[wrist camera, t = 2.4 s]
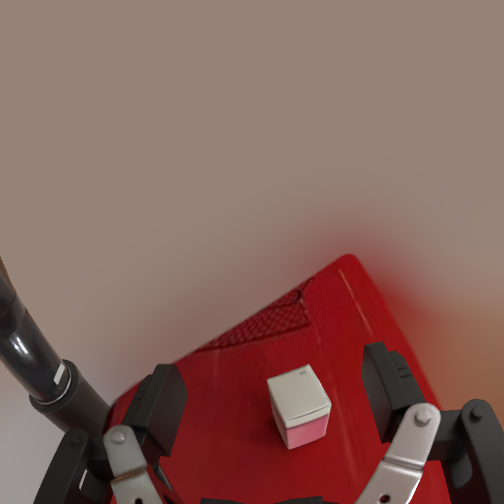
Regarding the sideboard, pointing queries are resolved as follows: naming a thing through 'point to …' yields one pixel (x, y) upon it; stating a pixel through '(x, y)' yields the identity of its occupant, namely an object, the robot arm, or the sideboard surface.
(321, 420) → the small box
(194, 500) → the sideboard surface
